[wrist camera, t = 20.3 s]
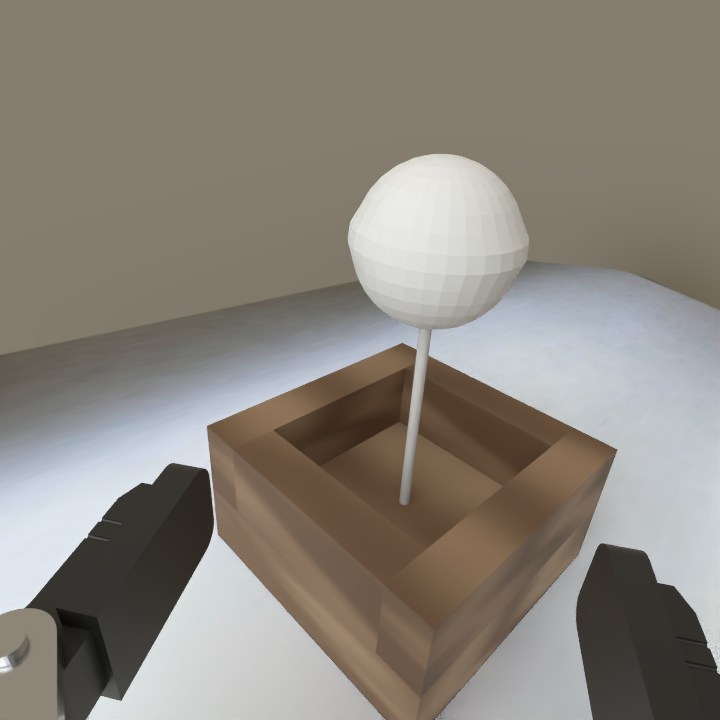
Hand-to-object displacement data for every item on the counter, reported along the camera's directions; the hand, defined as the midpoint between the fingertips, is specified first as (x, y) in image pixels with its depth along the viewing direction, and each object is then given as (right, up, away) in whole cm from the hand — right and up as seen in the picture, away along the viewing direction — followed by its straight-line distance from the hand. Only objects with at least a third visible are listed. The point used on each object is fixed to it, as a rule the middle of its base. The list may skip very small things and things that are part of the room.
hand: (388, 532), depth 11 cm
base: (+1, -5, +15) cm, 16 cm away
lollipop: (+1, -3, +13) cm, 14 cm away
